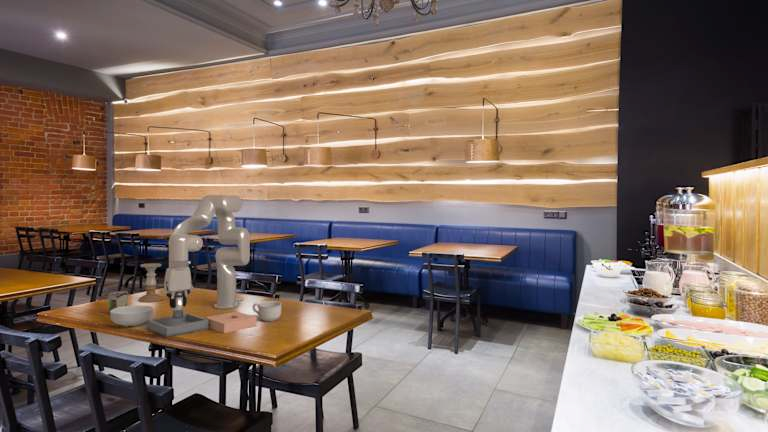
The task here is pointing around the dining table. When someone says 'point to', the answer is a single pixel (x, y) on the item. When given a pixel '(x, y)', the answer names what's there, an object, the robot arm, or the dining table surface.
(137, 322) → the cereal bowl
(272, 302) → the teacup
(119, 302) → the food container
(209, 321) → the hitch block
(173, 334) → the tray
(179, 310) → the pin
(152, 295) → the candle holder
